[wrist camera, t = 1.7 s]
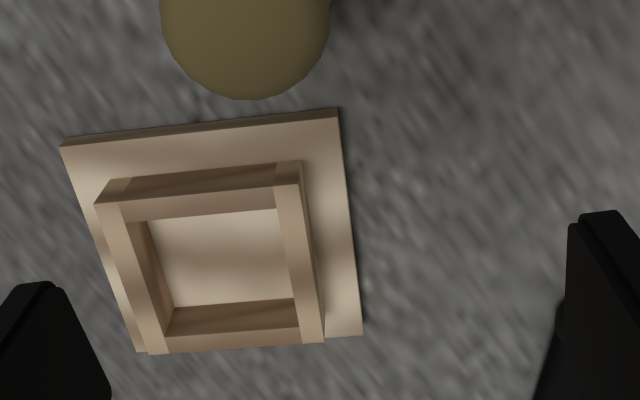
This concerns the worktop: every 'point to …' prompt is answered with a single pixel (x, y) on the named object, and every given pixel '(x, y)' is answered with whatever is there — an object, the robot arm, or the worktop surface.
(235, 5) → the olive tall rounded piece
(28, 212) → the worktop surface
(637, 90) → the worktop surface
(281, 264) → the holder
